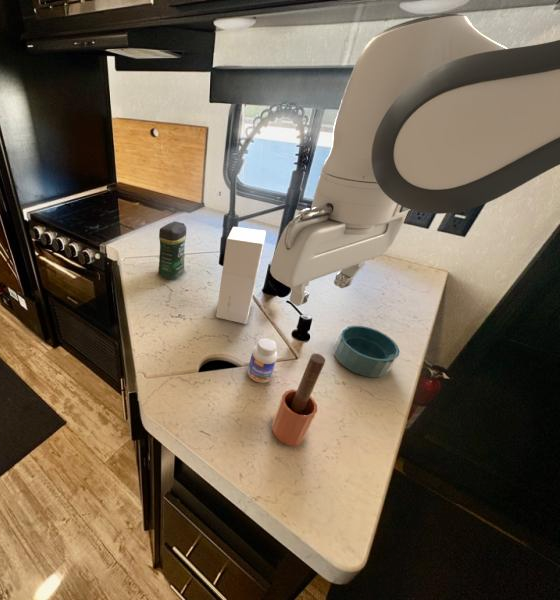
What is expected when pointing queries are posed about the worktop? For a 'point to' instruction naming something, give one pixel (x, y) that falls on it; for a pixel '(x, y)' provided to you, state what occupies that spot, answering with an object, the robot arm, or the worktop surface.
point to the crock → (292, 420)
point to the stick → (307, 383)
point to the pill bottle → (263, 360)
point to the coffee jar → (172, 250)
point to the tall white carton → (239, 273)
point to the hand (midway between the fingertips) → (320, 293)
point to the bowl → (366, 351)
